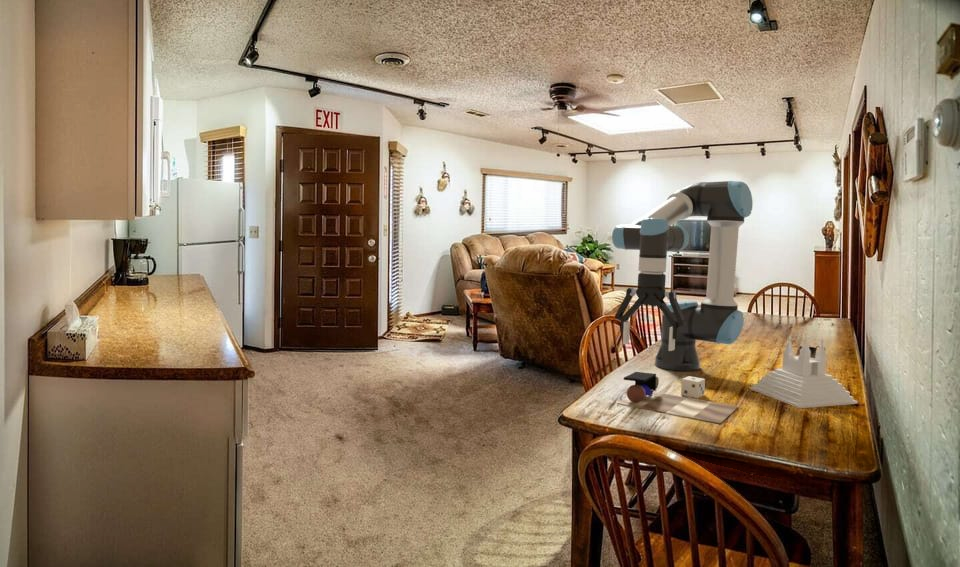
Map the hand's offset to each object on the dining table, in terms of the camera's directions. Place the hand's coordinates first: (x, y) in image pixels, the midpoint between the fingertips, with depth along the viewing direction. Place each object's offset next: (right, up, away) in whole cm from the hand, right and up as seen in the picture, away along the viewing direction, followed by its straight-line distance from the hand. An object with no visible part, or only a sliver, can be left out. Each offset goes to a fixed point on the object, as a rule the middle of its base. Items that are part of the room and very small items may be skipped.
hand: (648, 347), depth 177 cm
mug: (+59, -14, +25) cm, 66 cm away
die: (+15, -15, +6) cm, 22 cm away
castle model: (+48, -16, +7) cm, 51 cm away
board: (+7, -16, -5) cm, 18 cm away
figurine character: (-2, -15, +1) cm, 15 cm away
